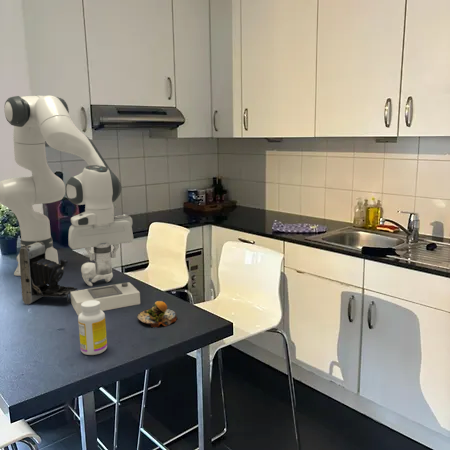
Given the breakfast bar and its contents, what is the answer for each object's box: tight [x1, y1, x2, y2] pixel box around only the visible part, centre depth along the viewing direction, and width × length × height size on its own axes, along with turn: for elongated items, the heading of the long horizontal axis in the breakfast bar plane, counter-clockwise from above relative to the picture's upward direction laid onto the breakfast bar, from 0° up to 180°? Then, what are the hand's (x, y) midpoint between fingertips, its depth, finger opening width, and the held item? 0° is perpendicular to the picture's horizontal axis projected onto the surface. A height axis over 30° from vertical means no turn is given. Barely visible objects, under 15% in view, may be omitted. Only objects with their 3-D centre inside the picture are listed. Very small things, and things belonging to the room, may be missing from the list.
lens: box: [92, 243, 113, 275], centre depth 147 cm, size 6×6×10 cm
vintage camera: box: [18, 241, 78, 305], centre depth 151 cm, size 10×16×20 cm, turn 79°
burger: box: [136, 300, 177, 329], centre depth 136 cm, size 12×12×8 cm
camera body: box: [69, 282, 141, 316], centre depth 150 cm, size 12×20×5 cm, turn 118°
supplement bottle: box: [77, 300, 108, 356], centre depth 116 cm, size 7×7×13 cm
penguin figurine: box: [80, 261, 114, 287], centre depth 171 cm, size 6×8×12 cm
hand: (102, 258), depth 147 cm, fingers closed on lens, 5 cm apart
